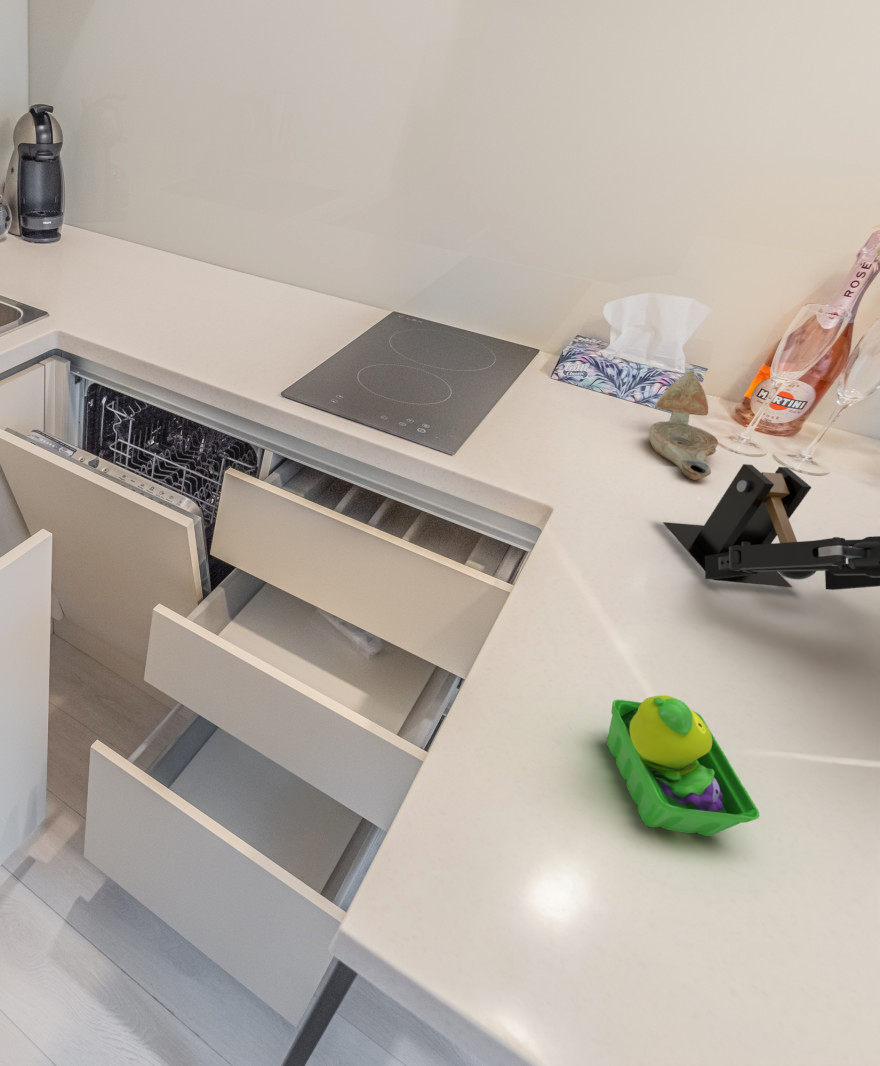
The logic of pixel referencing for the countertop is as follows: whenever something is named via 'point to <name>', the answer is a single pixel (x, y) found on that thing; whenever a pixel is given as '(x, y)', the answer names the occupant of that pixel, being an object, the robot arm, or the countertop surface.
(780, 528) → the switch lever
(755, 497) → the switch bracket
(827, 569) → the robot arm
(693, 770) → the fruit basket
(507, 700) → the countertop surface
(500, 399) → the countertop surface
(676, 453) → the oil lamp
